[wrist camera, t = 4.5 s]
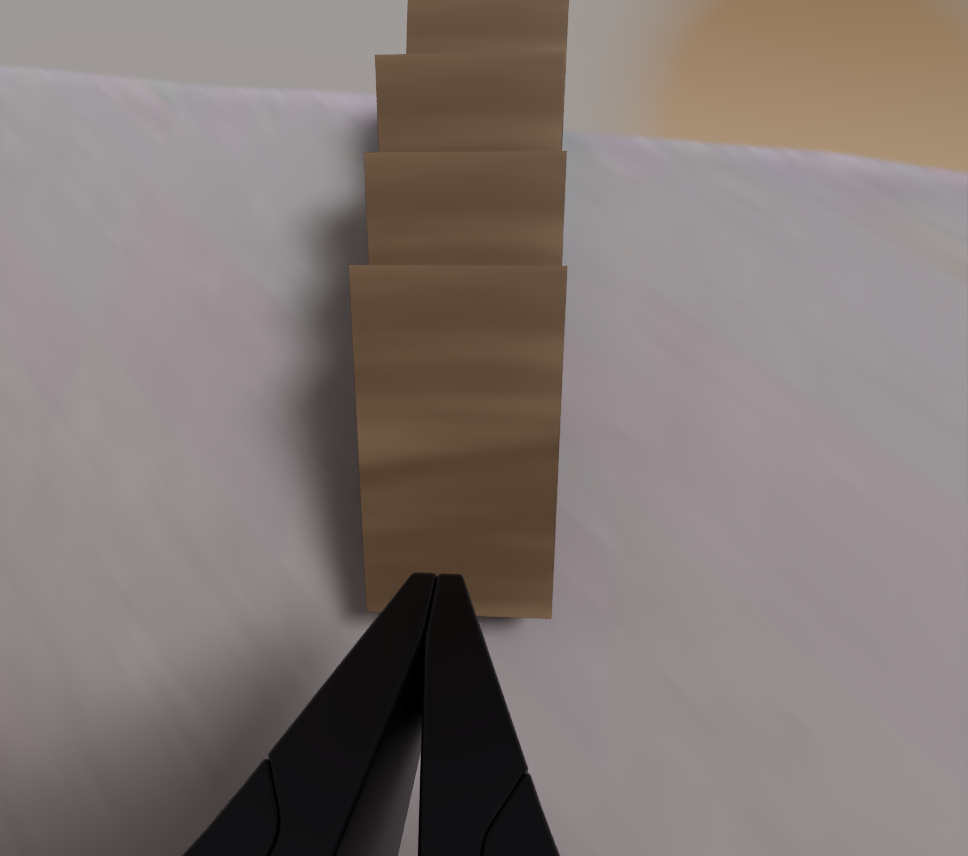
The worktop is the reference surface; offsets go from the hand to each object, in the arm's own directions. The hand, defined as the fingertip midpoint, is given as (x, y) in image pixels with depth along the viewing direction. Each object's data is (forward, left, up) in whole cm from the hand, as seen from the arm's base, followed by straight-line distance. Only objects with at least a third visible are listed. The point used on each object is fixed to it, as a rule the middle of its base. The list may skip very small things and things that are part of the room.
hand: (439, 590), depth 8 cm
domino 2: (+2, +2, -6) cm, 7 cm away
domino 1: (0, 0, -6) cm, 6 cm away
